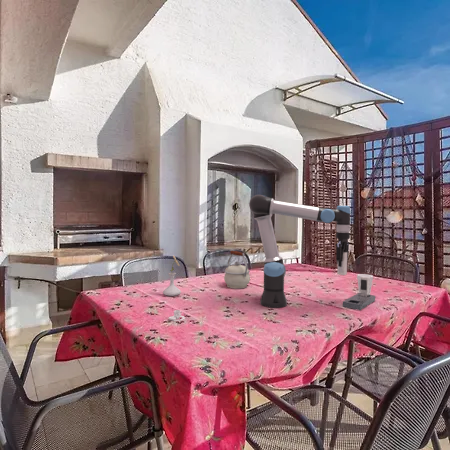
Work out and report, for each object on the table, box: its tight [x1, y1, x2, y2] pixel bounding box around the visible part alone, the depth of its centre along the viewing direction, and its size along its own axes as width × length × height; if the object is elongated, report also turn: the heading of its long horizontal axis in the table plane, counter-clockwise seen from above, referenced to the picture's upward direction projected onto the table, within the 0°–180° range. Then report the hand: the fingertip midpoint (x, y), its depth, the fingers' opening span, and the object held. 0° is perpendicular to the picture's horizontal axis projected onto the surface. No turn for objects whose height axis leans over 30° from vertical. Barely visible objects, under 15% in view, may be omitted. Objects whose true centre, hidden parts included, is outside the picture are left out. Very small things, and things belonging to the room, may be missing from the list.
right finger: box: [336, 252, 348, 276], centre depth 198 cm, size 5×4×13 cm
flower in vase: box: [162, 254, 182, 297], centre depth 214 cm, size 13×11×25 cm
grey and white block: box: [342, 277, 376, 311], centre depth 197 cm, size 10×26×14 cm, turn 139°
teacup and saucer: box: [168, 309, 186, 322], centre depth 168 cm, size 9×8×4 cm
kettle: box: [223, 250, 251, 290], centre depth 239 cm, size 25×18×25 cm
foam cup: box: [356, 273, 374, 295], centre depth 215 cm, size 10×9×13 cm
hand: (342, 271), depth 198 cm, fingers closed on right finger, 4 cm apart
